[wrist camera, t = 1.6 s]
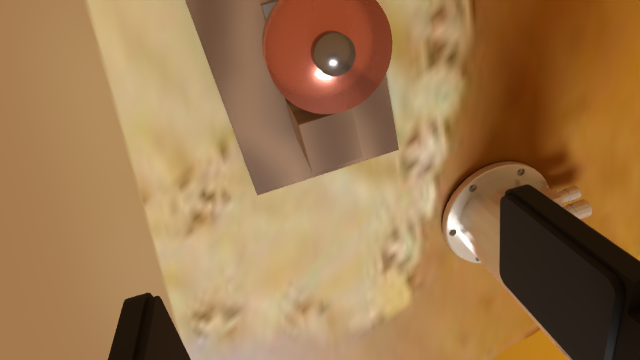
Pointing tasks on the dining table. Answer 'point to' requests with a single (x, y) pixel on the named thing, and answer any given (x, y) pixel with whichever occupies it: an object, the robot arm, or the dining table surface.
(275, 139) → the eye stand
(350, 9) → the orange knobbed disc
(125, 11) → the dining table surface
